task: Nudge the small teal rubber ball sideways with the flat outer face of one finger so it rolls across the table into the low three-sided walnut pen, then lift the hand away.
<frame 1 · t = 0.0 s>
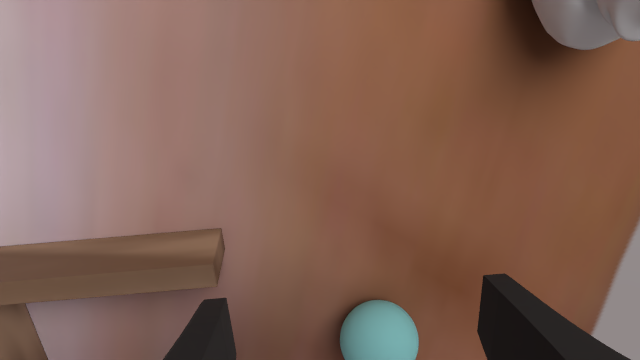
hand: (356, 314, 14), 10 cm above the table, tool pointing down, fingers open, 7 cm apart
walnut pen: (138, 348, 27), on the table
ball: (372, 313, 27), on the table
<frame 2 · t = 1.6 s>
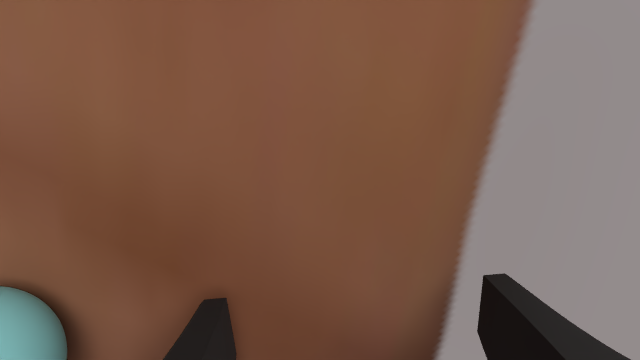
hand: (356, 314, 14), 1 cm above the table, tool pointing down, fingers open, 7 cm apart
ball: (19, 312, 14), on the table
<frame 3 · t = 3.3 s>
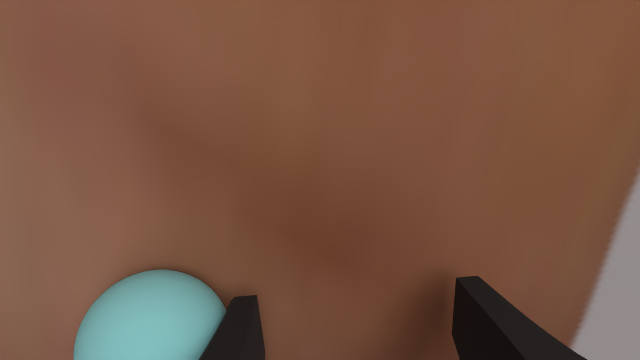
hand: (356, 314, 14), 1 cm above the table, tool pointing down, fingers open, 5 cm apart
ball: (178, 296, 15), on the table, tilted 5°, touching gripper
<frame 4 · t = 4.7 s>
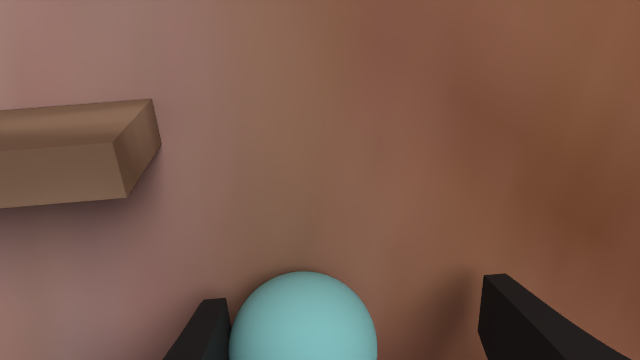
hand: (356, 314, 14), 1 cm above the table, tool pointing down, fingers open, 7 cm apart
walnut pen: (18, 339, 15), on the table
ball: (325, 307, 15), on the table, tilted 23°, touching gripper
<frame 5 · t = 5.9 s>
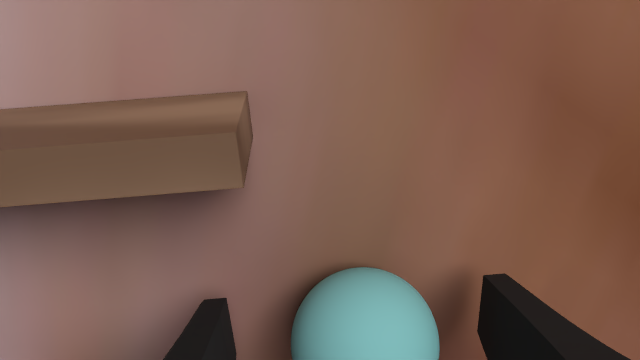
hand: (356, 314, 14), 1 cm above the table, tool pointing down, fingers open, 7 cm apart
walnut pen: (95, 331, 15), on the table
ball: (399, 308, 15), on the table, tilted 41°
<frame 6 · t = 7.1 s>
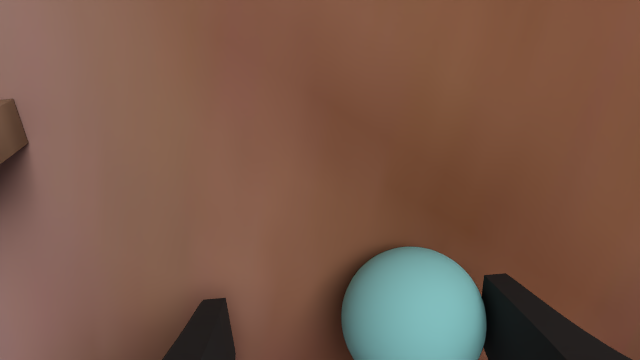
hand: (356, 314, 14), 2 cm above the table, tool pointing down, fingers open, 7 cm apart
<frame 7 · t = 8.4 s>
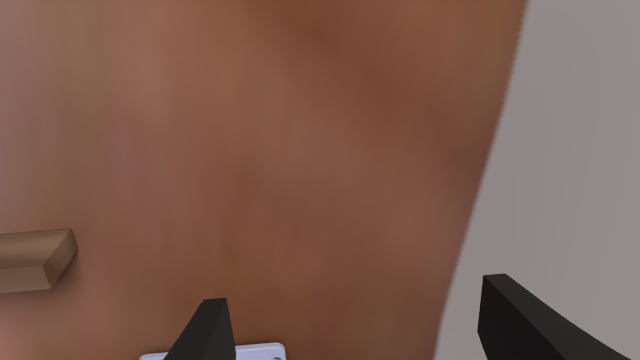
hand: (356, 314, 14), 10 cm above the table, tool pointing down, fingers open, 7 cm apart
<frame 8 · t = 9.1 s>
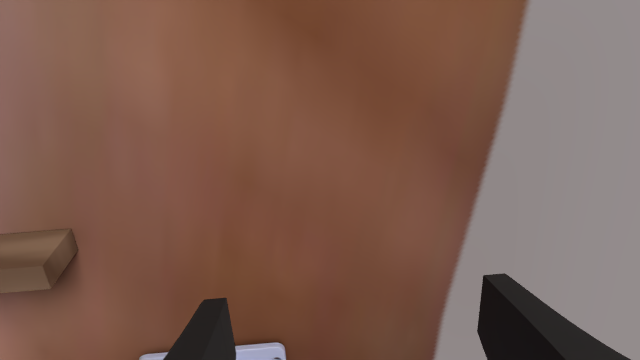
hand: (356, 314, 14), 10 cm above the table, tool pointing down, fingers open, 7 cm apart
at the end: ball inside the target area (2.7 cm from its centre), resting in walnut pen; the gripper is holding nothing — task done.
